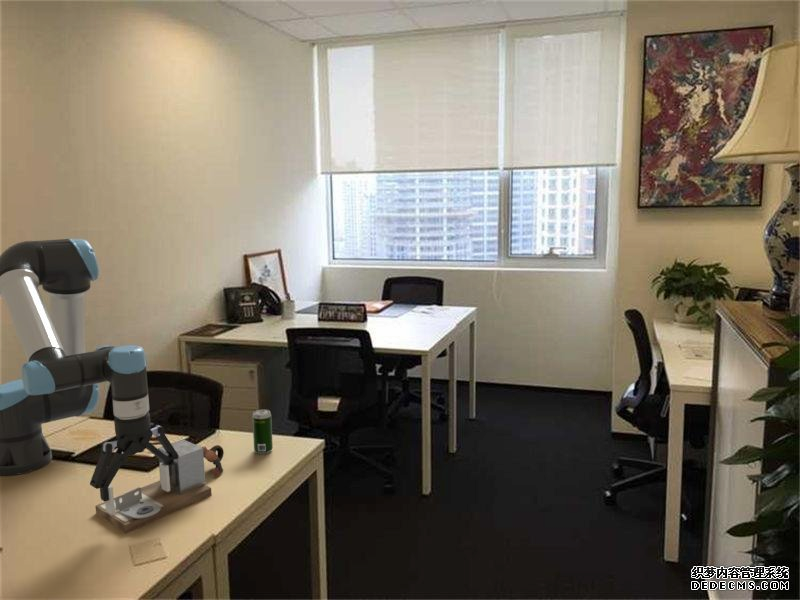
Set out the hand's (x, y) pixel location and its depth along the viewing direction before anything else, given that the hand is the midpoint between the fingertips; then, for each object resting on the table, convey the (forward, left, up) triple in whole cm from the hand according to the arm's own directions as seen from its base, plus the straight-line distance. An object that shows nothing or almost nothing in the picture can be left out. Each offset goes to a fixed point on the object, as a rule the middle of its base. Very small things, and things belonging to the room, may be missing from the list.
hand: (139, 500), depth 144 cm
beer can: (-8, +43, -5) cm, 44 cm away
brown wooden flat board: (-4, +6, -5) cm, 9 cm away
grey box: (-4, +14, -3) cm, 14 cm away
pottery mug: (-9, +24, -5) cm, 27 cm away
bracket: (0, 0, -3) cm, 3 cm away
